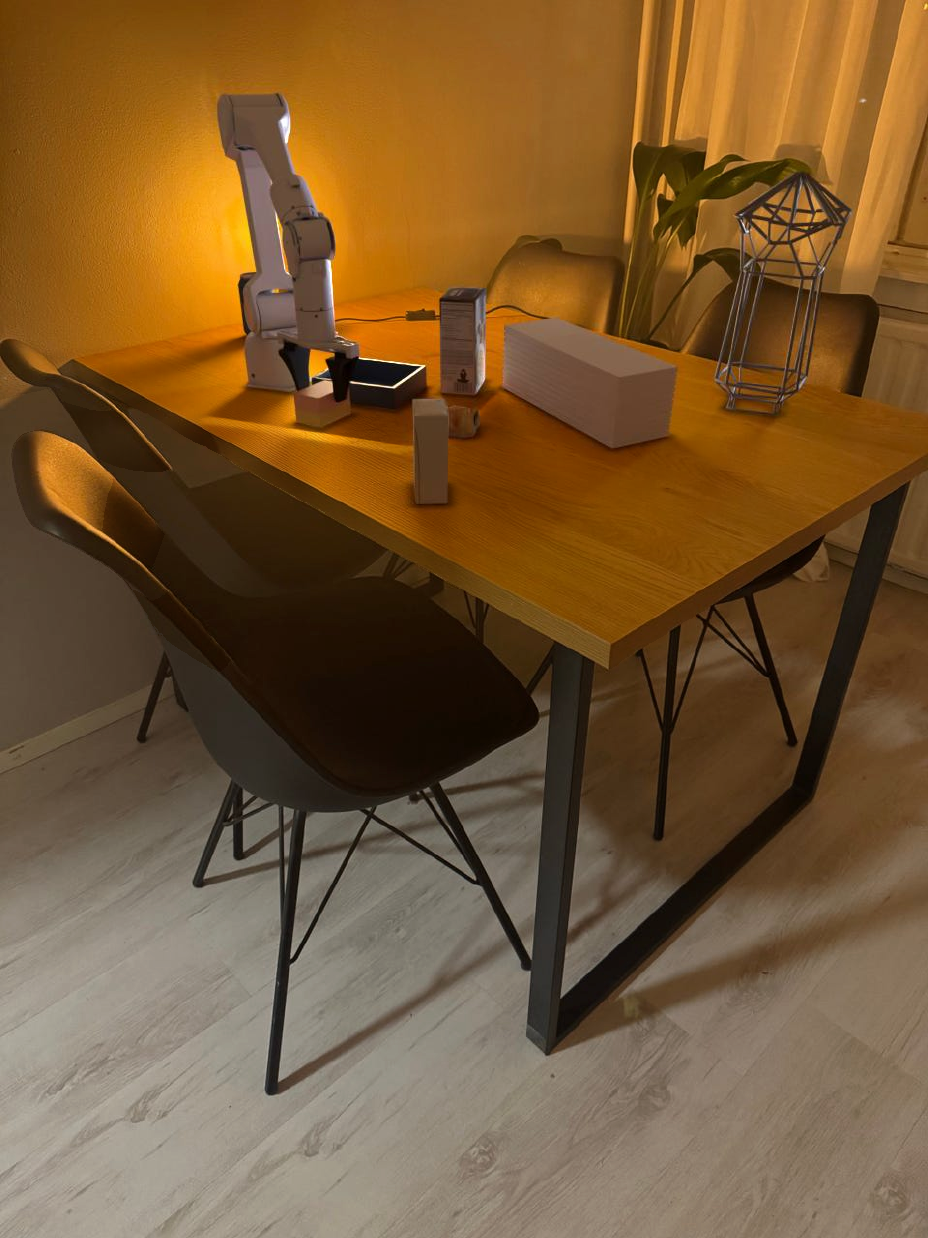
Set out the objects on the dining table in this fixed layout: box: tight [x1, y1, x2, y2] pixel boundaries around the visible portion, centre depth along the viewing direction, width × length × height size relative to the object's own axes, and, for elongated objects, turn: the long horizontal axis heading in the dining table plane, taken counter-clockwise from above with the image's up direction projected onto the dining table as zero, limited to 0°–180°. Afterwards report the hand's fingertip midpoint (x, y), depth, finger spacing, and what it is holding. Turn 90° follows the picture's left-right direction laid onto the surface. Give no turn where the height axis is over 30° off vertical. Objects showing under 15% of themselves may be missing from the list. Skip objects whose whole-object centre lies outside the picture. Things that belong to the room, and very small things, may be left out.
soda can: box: [237, 271, 275, 336], centre depth 177 cm, size 7×7×12 cm
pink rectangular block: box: [292, 380, 352, 429], centre depth 138 cm, size 5×8×5 cm, turn 148°
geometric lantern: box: [713, 170, 853, 416], centre depth 136 cm, size 16×16×35 cm
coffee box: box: [438, 286, 487, 396], centre depth 149 cm, size 9×6×16 cm
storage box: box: [311, 357, 428, 411], centre depth 149 cm, size 15×13×4 cm
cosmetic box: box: [412, 397, 449, 505], centre depth 112 cm, size 6×4×12 cm
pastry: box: [447, 405, 482, 439], centre depth 135 cm, size 9×7×4 cm
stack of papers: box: [501, 317, 679, 449], centre depth 140 cm, size 32×11×11 cm, turn 28°
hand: (322, 396), depth 137 cm, fingers open, 7 cm apart
